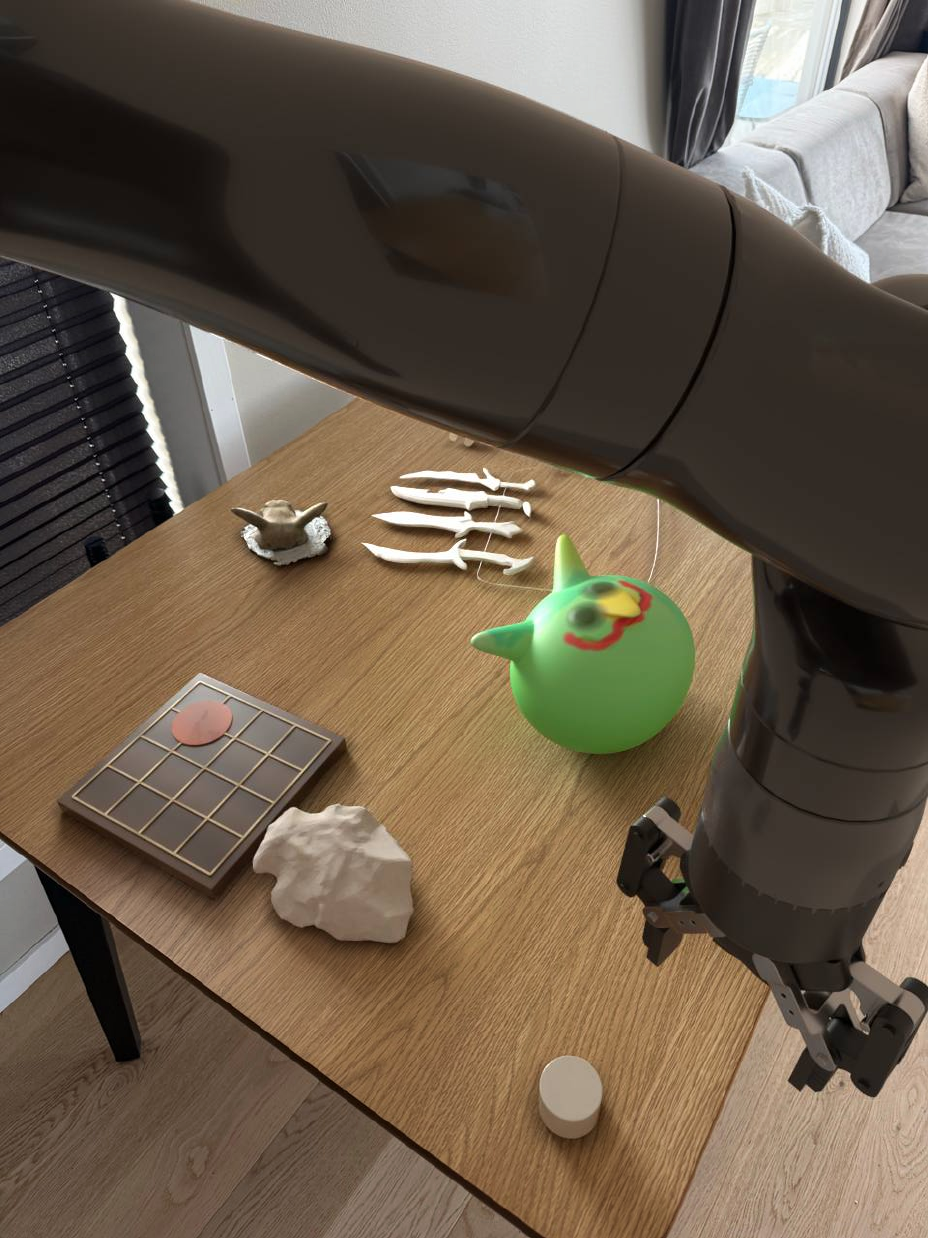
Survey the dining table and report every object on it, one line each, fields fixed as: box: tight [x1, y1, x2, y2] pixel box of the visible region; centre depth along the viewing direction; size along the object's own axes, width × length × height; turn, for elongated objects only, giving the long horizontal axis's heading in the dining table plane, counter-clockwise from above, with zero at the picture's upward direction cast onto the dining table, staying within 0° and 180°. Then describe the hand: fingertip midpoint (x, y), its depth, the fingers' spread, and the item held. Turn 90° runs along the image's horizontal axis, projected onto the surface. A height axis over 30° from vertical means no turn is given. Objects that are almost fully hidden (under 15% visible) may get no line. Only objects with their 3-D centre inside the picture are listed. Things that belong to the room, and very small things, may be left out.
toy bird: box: [470, 533, 696, 755], centre depth 79 cm, size 18×17×15 cm
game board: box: [56, 672, 348, 901], centre depth 79 cm, size 18×18×2 cm
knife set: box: [361, 465, 660, 593], centre depth 108 cm, size 26×35×1 cm
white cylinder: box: [538, 1055, 604, 1140], centre depth 57 cm, size 4×4×3 cm
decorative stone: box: [252, 803, 415, 944], centre depth 70 cm, size 11×4×15 cm
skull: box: [230, 499, 334, 567], centre depth 105 cm, size 10×12×6 cm
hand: (730, 1010), depth 45 cm, fingers open, 8 cm apart
